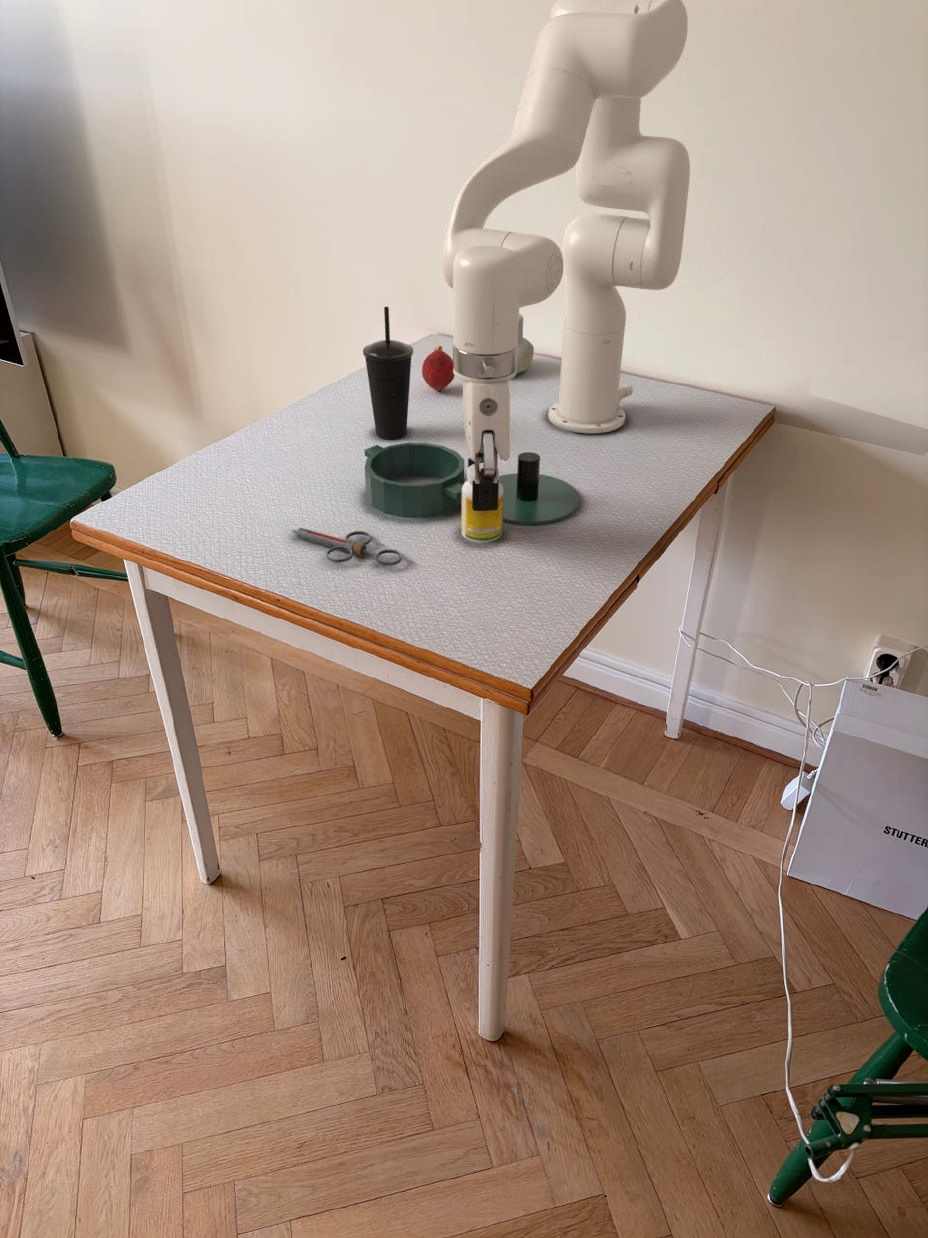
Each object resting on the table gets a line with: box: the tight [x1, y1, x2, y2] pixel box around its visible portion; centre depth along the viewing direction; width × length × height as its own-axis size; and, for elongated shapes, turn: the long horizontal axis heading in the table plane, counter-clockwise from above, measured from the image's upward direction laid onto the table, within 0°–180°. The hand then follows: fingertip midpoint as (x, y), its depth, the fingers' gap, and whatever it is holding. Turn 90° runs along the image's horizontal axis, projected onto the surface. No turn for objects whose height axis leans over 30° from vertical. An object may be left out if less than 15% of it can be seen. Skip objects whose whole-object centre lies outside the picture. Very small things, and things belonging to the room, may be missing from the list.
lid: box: [498, 451, 581, 526], centre depth 129 cm, size 15×15×7 cm
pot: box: [364, 442, 465, 519], centre depth 131 cm, size 14×19×5 cm
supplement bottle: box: [460, 463, 504, 543], centre depth 121 cm, size 5×5×10 cm
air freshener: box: [516, 313, 535, 375], centre depth 171 cm, size 11×8×10 cm
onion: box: [421, 345, 456, 392], centre depth 163 cm, size 6×6×8 cm
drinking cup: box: [362, 306, 414, 441], centre depth 145 cm, size 8×8×20 cm
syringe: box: [281, 526, 403, 567], centre depth 120 cm, size 8×18×2 cm, turn 63°
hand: (482, 496), depth 120 cm, fingers open, 5 cm apart
